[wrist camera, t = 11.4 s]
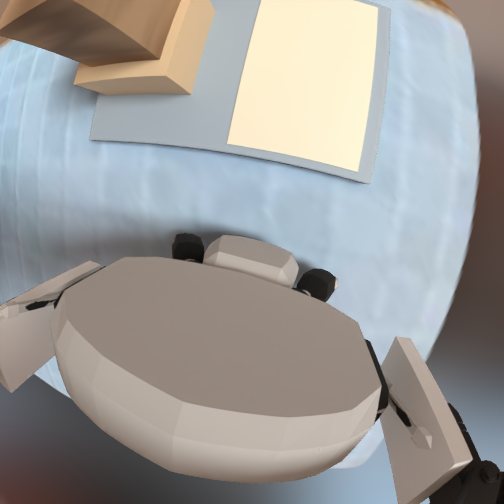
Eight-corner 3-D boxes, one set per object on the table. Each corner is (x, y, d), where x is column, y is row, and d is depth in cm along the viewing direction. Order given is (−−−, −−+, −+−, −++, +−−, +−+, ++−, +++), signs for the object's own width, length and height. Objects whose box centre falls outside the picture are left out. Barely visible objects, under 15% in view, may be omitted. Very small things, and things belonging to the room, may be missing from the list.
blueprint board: (98, 140, 18) (52, 136, 13) (141, -3, 14) (112, -30, 9) (365, 183, 16) (393, 187, 11) (386, 15, 12) (407, -19, 7)
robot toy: (167, 270, 20) (16, 403, 6) (177, 211, 19) (-22, 293, 4) (329, 315, 19) (364, 517, 5) (350, 257, 18) (458, 443, 4)
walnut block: (91, 67, 12) (-7, 34, 4) (116, 4, 10) (40, -46, 2) (159, 59, 11) (60, -7, 3) (184, -8, 10) (120, -87, 2)
